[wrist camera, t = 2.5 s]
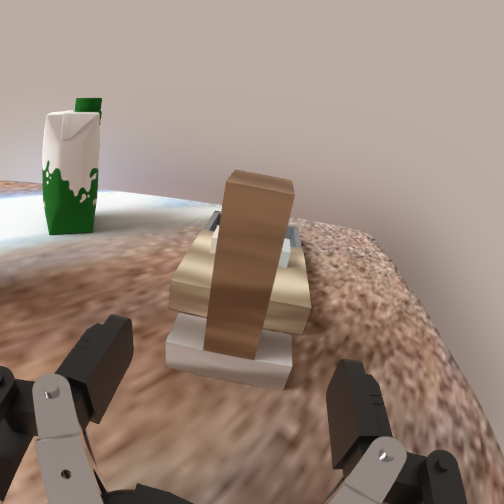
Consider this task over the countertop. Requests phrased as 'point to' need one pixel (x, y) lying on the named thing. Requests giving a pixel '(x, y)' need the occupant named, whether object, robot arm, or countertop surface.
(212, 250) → the tile
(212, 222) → the tray
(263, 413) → the countertop surface
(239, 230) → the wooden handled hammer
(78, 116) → the milk carton
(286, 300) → the light wood board
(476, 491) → the countertop surface
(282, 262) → the tile
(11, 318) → the countertop surface
